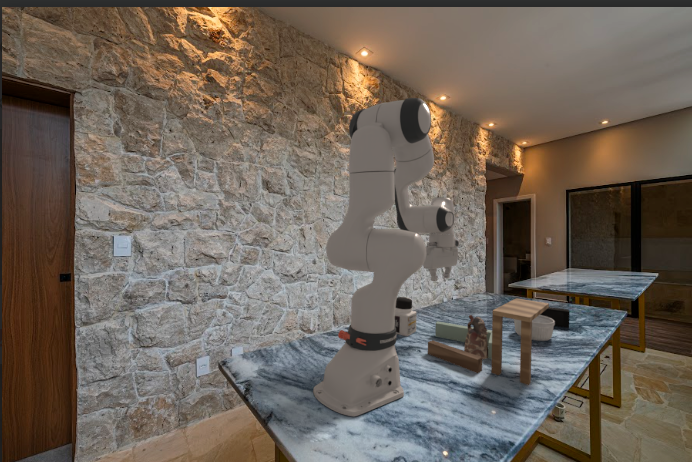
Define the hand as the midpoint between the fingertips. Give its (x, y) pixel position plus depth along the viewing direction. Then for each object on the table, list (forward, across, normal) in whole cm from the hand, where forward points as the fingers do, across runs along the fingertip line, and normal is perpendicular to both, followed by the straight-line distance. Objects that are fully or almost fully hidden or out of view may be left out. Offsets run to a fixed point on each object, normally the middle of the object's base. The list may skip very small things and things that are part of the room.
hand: (440, 279), depth 110 cm
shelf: (+21, -5, -28) cm, 35 cm away
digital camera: (+21, +50, -26) cm, 61 cm away
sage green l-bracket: (+21, -2, -10) cm, 24 cm away
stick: (+21, -17, -13) cm, 30 cm away
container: (+21, -6, +12) cm, 25 cm away
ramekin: (+21, +27, -24) cm, 42 cm away
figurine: (+21, -6, -16) cm, 27 cm away
